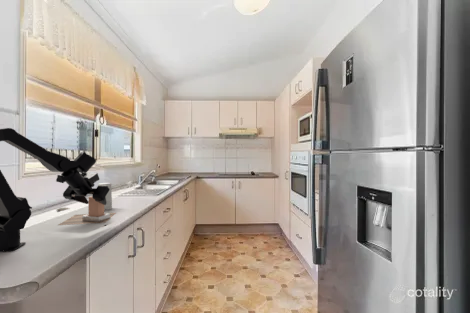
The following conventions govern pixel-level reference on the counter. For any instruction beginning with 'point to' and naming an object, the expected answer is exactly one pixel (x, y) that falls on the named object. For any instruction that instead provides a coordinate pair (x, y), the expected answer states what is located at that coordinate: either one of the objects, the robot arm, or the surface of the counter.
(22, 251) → the counter surface
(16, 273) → the counter surface
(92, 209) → the terracotta upright block
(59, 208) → the soupspoon
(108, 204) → the skincare box
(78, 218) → the walnut board
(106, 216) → the steel collar
